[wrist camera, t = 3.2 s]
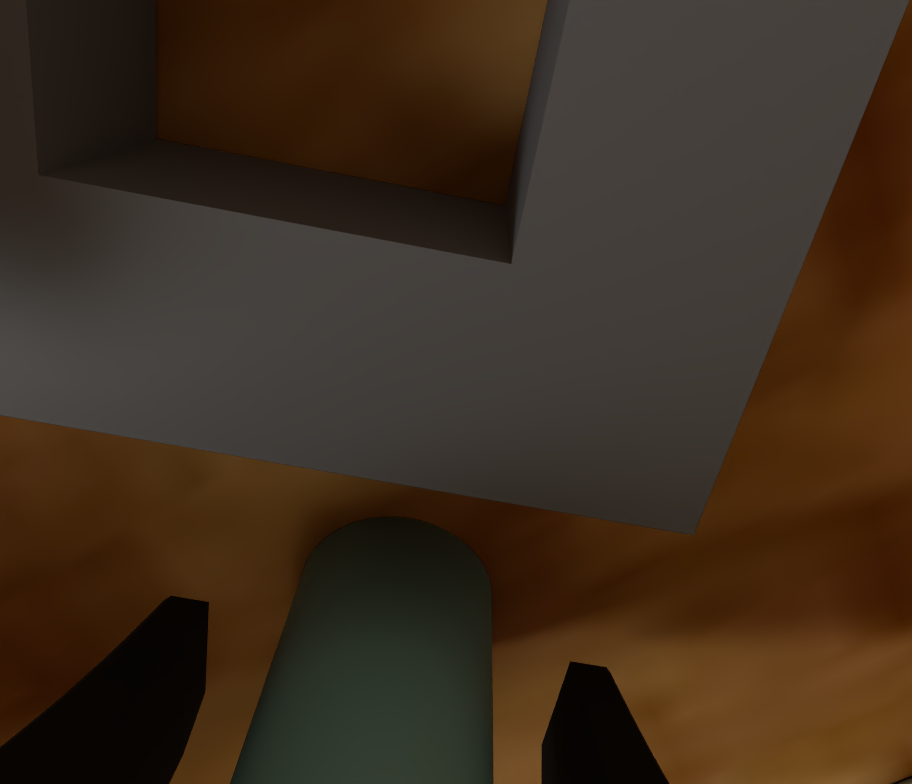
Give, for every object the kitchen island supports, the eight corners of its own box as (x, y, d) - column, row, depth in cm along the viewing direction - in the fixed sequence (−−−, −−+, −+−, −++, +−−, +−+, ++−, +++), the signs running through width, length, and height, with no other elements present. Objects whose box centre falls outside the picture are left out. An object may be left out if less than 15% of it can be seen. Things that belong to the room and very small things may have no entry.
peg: (471, 678, 15) (461, 1163, 8) (293, 649, 14) (144, 1122, 8) (509, 535, 13) (531, 998, 7) (310, 501, 13) (141, 943, 7)
